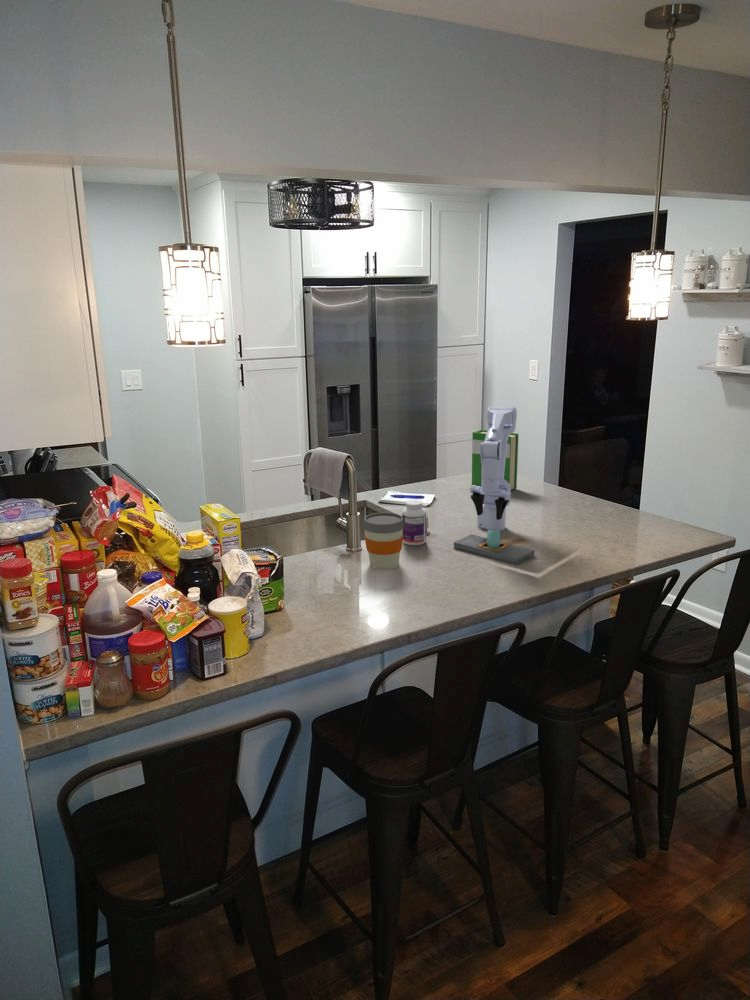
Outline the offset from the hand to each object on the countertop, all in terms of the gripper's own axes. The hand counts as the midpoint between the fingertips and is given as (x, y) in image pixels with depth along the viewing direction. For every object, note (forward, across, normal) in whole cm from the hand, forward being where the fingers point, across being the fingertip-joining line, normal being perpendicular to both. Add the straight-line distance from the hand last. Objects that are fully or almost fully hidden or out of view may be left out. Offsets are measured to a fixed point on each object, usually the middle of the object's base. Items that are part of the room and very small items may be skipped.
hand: (489, 516), depth 236 cm
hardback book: (+10, -37, +60) cm, 71 cm away
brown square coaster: (+9, +7, +5) cm, 13 cm away
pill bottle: (+10, -20, -15) cm, 27 cm away
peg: (+9, +7, -8) cm, 14 cm away
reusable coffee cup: (+10, -15, -36) cm, 40 cm away
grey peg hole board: (+9, +7, -8) cm, 14 cm away
